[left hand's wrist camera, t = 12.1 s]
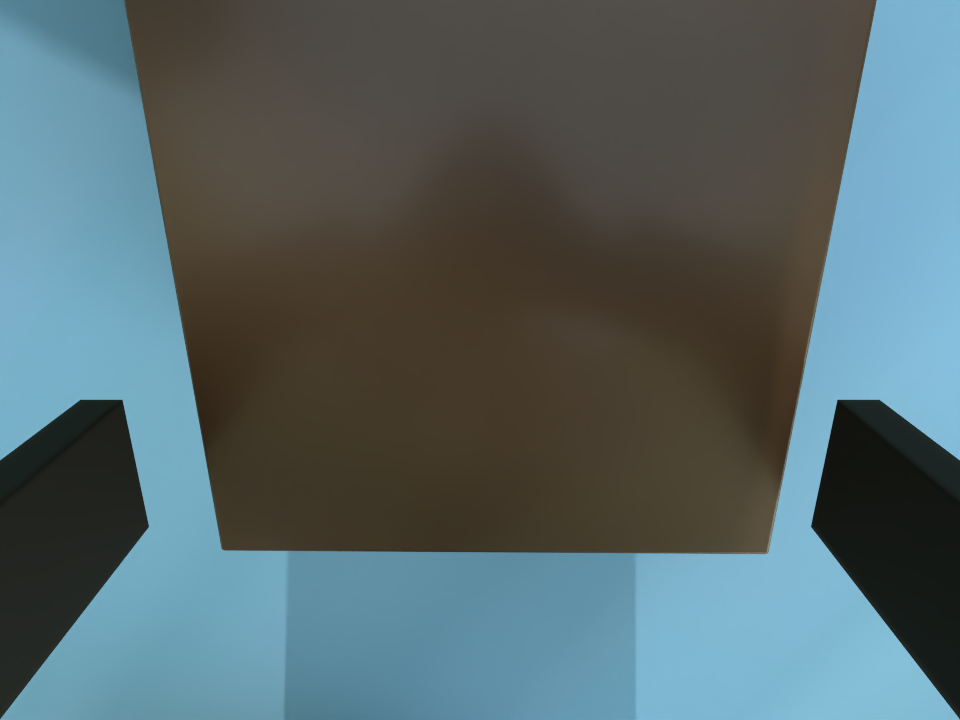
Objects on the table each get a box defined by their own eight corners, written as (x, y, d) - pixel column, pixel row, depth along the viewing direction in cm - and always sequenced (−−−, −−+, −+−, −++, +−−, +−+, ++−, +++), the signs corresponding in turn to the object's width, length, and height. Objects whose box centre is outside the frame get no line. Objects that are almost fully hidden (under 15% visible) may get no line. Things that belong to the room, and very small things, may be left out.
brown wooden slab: (222, -510, 14) (-97, -1221, 6) (775, -516, 14) (1124, -1248, 6) (314, 387, 21) (220, 551, 14) (670, 388, 21) (769, 555, 14)
